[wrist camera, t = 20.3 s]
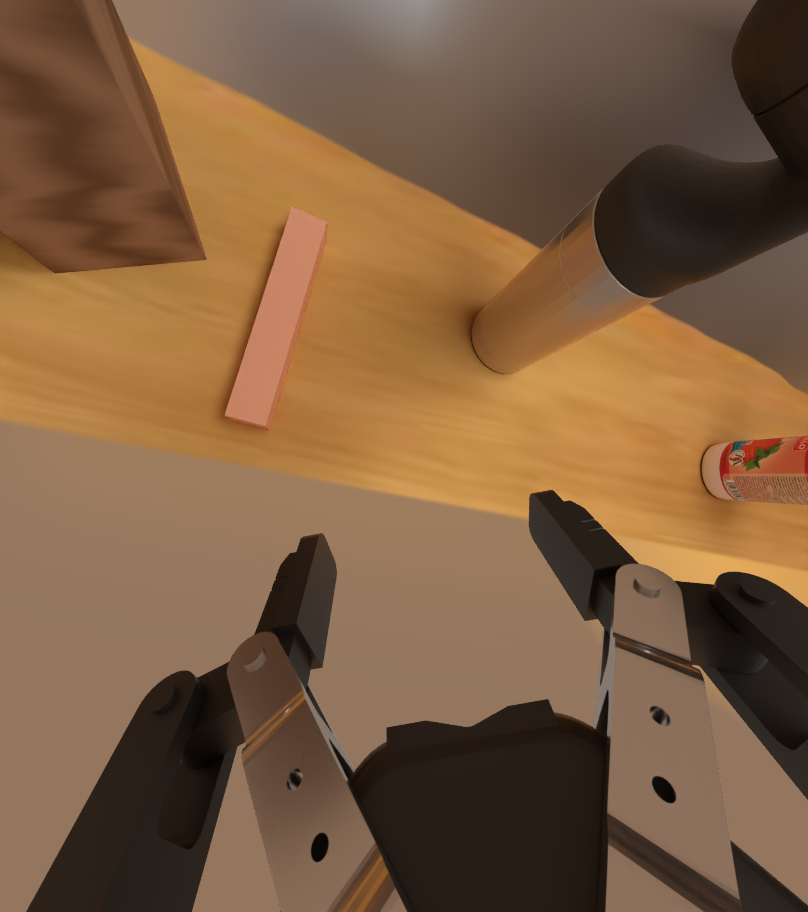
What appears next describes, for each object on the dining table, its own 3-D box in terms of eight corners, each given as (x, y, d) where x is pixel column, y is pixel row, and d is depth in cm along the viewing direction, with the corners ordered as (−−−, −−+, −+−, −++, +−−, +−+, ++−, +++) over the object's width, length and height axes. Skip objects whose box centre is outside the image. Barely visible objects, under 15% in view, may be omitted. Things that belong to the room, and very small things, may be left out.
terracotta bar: (326, 243, 33) (327, 222, 30) (270, 430, 30) (265, 426, 28) (294, 229, 32) (292, 205, 29) (233, 420, 30) (224, 415, 27)
